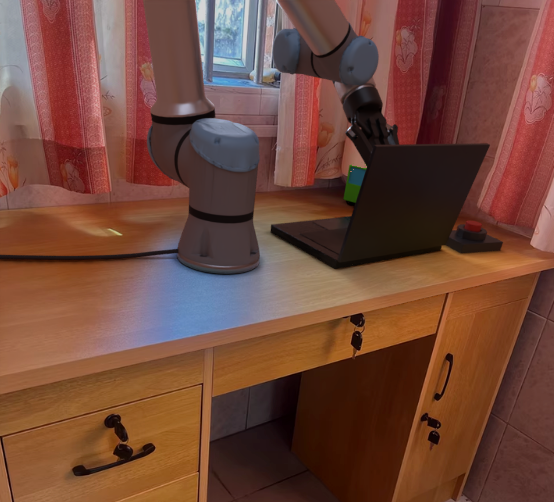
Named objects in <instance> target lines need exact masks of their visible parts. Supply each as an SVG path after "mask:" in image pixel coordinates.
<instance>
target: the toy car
mask: <svg viewBox="0 0 554 502" xmlns="http://www.w3.org/2000/svg"><path fill="white" fill-rule="evenodd" d="M353 169H354V170H353ZM350 171H352V172H350ZM365 171H366V168H361V167H357V166H352V164H348V170H347V177H346V181H345V187H344V188H345V189H344V194H343V200H344V201H345V203H346V204H347V203H348V204H352V203H354V204H355V203H356V200H357V197H358V193H359V190H360V187H361V184H362V181H363V178H364V174H365Z"/></svg>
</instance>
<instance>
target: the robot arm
mask: <svg viewBox="0 0 554 502" xmlns="http://www.w3.org/2000/svg"><path fill="white" fill-rule="evenodd" d="M142 3H143V10H144V17H145V23H146V30H147V38H148V45H149V52H150V57H151V58H150V59H151V65H152V73H153V78H154V86H155V94H156V101H155V102H154V103H153V105H152V106H151V107H150V108H149V109H150V112H149V113H150V118H151V125H150V127H149V128H148V131H147V135H146V147H147V152H148V154H149V157H150V159H151V161H152V163H153V164H154V165H155V167H156V168H158V170H159V171H160V172H161V173H162V174H163V175H164V176H166V177H167V178H169V179H171V180H173V181H175V182H178V183H179V184H181V185H183V186H185V187H186V188H188V189H189V190H188V213H187V218H186V221H185V223H184V227H183V229H182V231H181V232H182V233H181V235H180V238H179V241H178V243H177V248H172V249H161V250H152V251H151V250H150V251H144V252H143V251H142V252H133V253H132V252H131V253H119V254H118V253H117V254H98V255H97V254H95V255H94V254H93V255H45V254H44V255H43V254H42V255H41V254H39V255H37V254H36V255H35V254H27V255H26V254H0V260H15V261H17V260H18V261H21V260H22V261H102V260H122V259H133V258H145V257H152V256H162V255H163V256H164V255H171V254H172V255H173V254H176V256H177V259H178V261H179V262H180V263H181V264H183V266H186V267H188V268H190V269H193V270H196V271H200V272H205V273H210V274H220V275H233V274H234V275H235V274H241V273H246V272H249V271H252V270H254V269H256V268H257V267H258V266H259V264H260V256H261V255H260V247H259V243H258V238H257V234H256V229H255V225H254V215H255V214H254V212H255V205H256V203H255V202H256V192H257V181H258V170H259V163H260V161H261V160H260V159H261V158H260V157H261V155H260V139H259V136H258V135H257V133H256V132H255V131H254V130H253V129H251V128H249V127H248V126H246V125H245V124H241V123H238V122H233V121H231V120H228V119H222V118H217V117H216V109H215V108H216V107H215V104H214V103H213V102H212V101H211V100H210V99H209V98H207V96H206V89H205V82H204V81H205V80H204V70H203V59H202V50H201V39H200V30H199V29H200V28H199V19H198V10H197V0H142ZM275 3H277V4H278V7H280V8H281V10H282V11H283V13H284V14H285V15H286V17H287V19H288V20H289V21H290V22H291V24H292V26H293V28H283V29H280V30H279V31H278V32H277V33H276V35H275V37H274V39H273V42H272V50H271V58H272V63H273V65H274V67H275V69H276V70H277V71H278V72H280V73H282V74H289V75H293V76H294V75H302V76H303V75H304V76H308V77H312V78H317V79H321V80H322V79H323V80H328V81H330V82H332V84H333V87H334V88H335V90H336V93H337V96H338V98H339V101H340V104H341V105H342V110H343V112H344V115H345V117H346V120H347V122H348V123H349V124H350V126H349V128H348V129H346V131H345V136H346V137H347V138H348V139H349V140H350V141H351V142H352V144H353V145H354V147H355V149H356V151H357V153H358V154H359V156H360V157H361V159H362V160H363V163H364V164H366V166H367V165H368V162H369V159H370V156H371V152H372V149H373V146H374V145H400V141H399V136H398V135H399V134H398V131H399V127H398V125H397V124H395V123H394V124H393V125H390V123H388V121H387V118H386V117H385V116H384V115H383V106H384V103H383V100H382V98H381V95H380V93H379V89H377V88H376V87H377V84H376V82H375V80H374V77H373V76H374V75H375V73H376V72H377V70H378V65H379V60H380V59H379V58H380V56H379V49H378V46H377V44H376V43H375V42H374V41H373V40H372V39H370V38H368V37H366V36H364V35H358V34H357V33H356V32H355V29H354V28H353V26H352V24H351V23H350V22H349V21H348V19H347V17H346V16H345V15H344V13H343V11H342V9H341V7H340V6H339V5H338V3H337V2H336V0H275Z"/></svg>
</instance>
